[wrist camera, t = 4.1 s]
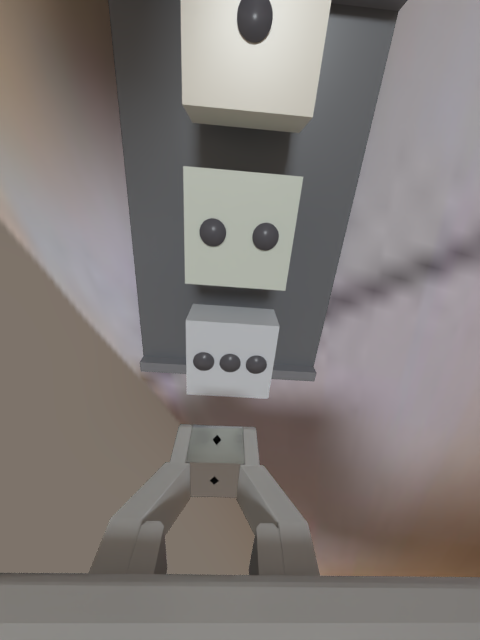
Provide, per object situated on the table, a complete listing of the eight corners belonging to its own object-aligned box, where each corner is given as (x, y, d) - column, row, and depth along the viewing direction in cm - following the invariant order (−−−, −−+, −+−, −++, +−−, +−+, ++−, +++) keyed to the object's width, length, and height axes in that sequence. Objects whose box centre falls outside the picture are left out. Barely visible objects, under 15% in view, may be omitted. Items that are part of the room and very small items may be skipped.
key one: (321, -24, 10) (346, -93, 8) (299, 132, 12) (313, 116, 10) (192, -39, 10) (178, -115, 7) (192, 122, 12) (181, 103, 9)
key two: (292, 181, 13) (303, 176, 10) (278, 277, 15) (285, 291, 13) (192, 172, 13) (182, 165, 10) (192, 271, 15) (184, 284, 12)
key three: (273, 309, 16) (279, 327, 13) (264, 374, 18) (268, 400, 15) (192, 303, 15) (185, 321, 13) (193, 370, 18) (186, 395, 15)
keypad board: (392, 1, 12) (416, -31, 10) (308, 367, 21) (314, 381, 19) (113, -31, 11) (93, -70, 10) (148, 357, 20) (140, 371, 19)
